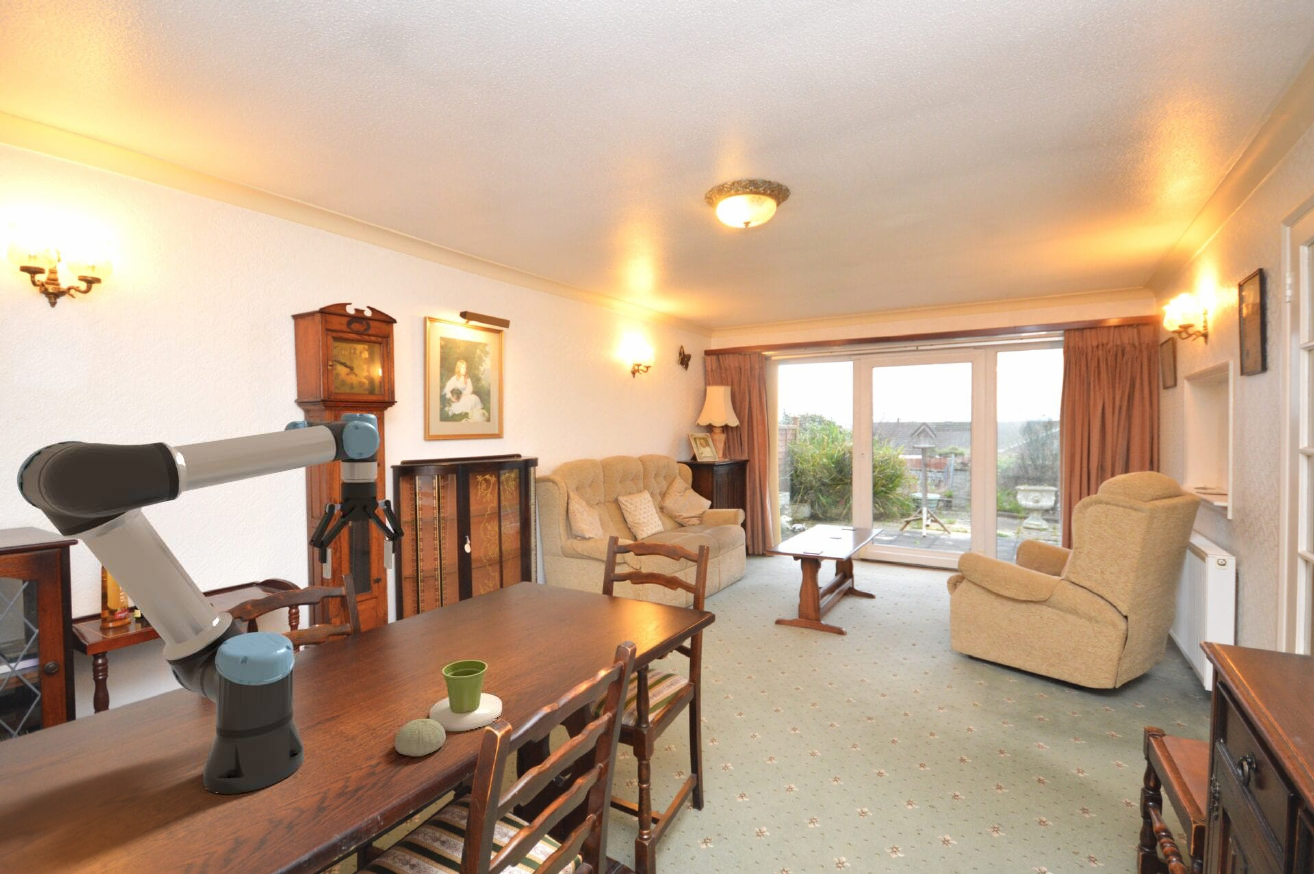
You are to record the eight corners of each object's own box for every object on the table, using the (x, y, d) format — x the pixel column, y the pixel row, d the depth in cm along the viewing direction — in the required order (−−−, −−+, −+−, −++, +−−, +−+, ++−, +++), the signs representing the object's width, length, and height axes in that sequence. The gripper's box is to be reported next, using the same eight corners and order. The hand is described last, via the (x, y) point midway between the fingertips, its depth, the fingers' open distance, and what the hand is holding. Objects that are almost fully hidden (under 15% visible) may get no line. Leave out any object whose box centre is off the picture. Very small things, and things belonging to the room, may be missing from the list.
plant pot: (474, 719, 127) (474, 678, 127) (433, 715, 129) (433, 674, 128) (494, 700, 136) (495, 661, 136) (456, 696, 138) (456, 658, 138)
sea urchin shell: (419, 756, 112) (400, 718, 115) (399, 777, 115) (381, 739, 117) (459, 735, 120) (439, 699, 122) (439, 755, 123) (421, 720, 125)
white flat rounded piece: (452, 739, 122) (452, 731, 122) (416, 715, 132) (416, 708, 132) (515, 713, 133) (515, 706, 133) (478, 693, 143) (478, 687, 143)
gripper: (404, 477, 152) (403, 561, 152) (293, 482, 133) (292, 579, 133) (419, 478, 147) (418, 566, 147) (305, 484, 128) (304, 585, 128)
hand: (358, 572), depth 140 cm, fingers open, 13 cm apart
